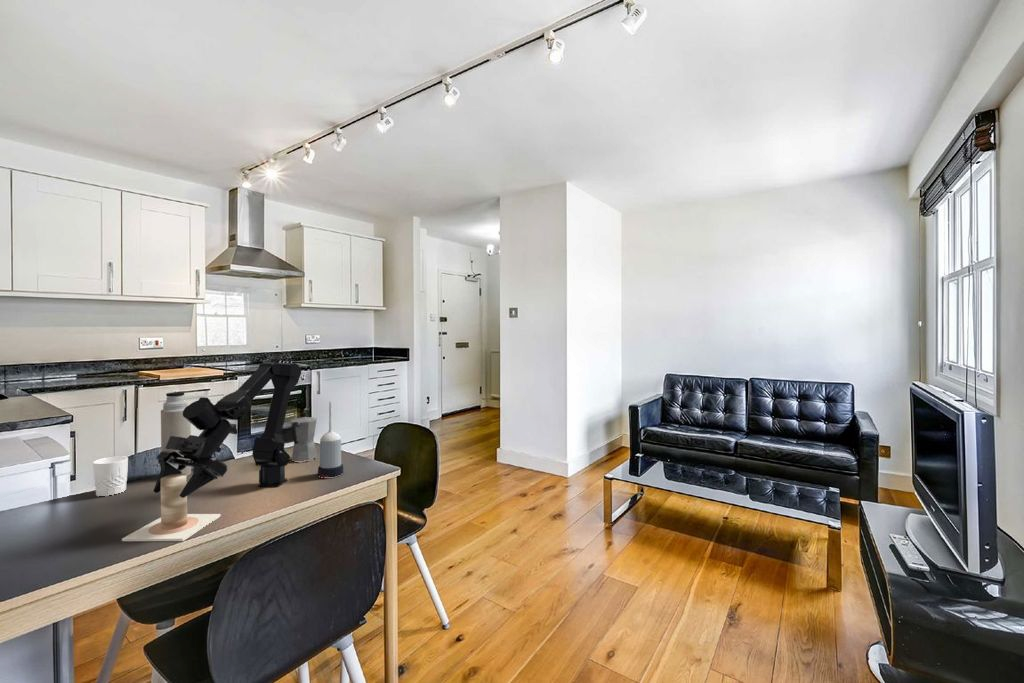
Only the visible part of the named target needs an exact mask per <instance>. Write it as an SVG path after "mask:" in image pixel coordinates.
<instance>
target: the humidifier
mask: <svg viewBox="0 0 1024 683" xmlns="http://www.w3.org/2000/svg"><path fill="white" fill-rule="evenodd" d="M332 403H333V402H332V401H329V402H328V404H329V406H328V412H329V416H328V418H329V419H328V431H327V432H325V433H324V434H323V435H322V436H321V437H320V442H319V466H318V468H317V477H318V476H320V477H335V476H338V475H341V474H342V473H343V474H344V465H343V463H342V437H341V436H340V434H338V433H337V432H335V431H333V410H332V407H333V404H332Z"/></svg>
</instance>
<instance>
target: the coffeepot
mask: <svg viewBox="0 0 1024 683" xmlns="http://www.w3.org/2000/svg"><path fill="white" fill-rule="evenodd" d="M306 415H307V412H305V411H303V412H301V417H298V418H297V417H296V418H294V419H291V421H290V424H291V428H290V430H291V434H292V439H293V448H292V455H291V458H290V460H293V461H304V460H310V459H313V458H316V459H317V457H316V456H317V450H316V445H315V441H314V438H315V434H316V428H317V427H316V426H317V418H315V417H311V416H310V417H309V416H306Z"/></svg>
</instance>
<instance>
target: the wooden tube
mask: <svg viewBox="0 0 1024 683" xmlns="http://www.w3.org/2000/svg"><path fill="white" fill-rule="evenodd" d="M187 477H188V476H187V475H186V474H174V475H169V476H165V477H163V478H161V491H160V517H161V528H162V529H164V530H170V529H176V528H179V527H182V526H184V525H186V524H187V514H188V495H187V496H186V497H184V498H182V497H180V494H181V492H182V490H183V489H184V487H185V486H186V484H187V483H188V481H187V480H188V478H187Z"/></svg>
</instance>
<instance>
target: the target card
mask: <svg viewBox="0 0 1024 683" xmlns="http://www.w3.org/2000/svg"><path fill="white" fill-rule="evenodd" d="M220 517H221V513H187V524H186V525H184V526H182V527H179V528H176V529H170V530H164V529H162V528H161V516H160V517H159V518H157V519H155V520H153V521H151V522H150V523H148V524H146V525H145V526H142V527H140V528H139V529H136V530H135V531H133V532H132V533H129V534H128V535H126V536H124V537H122V538H121V542H183V541H185V540H187V539H188V538H190V537H191V536H193V535H194V534H196V533H197V532H199V531H201V530H202V529H204V528H206V527H207V526H208V525H210V524H211V523H213V522H214V521H217V519H218V518H220ZM212 521H213V522H212ZM209 523H210V524H209ZM206 525H207V526H206ZM203 527H204V528H203Z"/></svg>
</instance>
